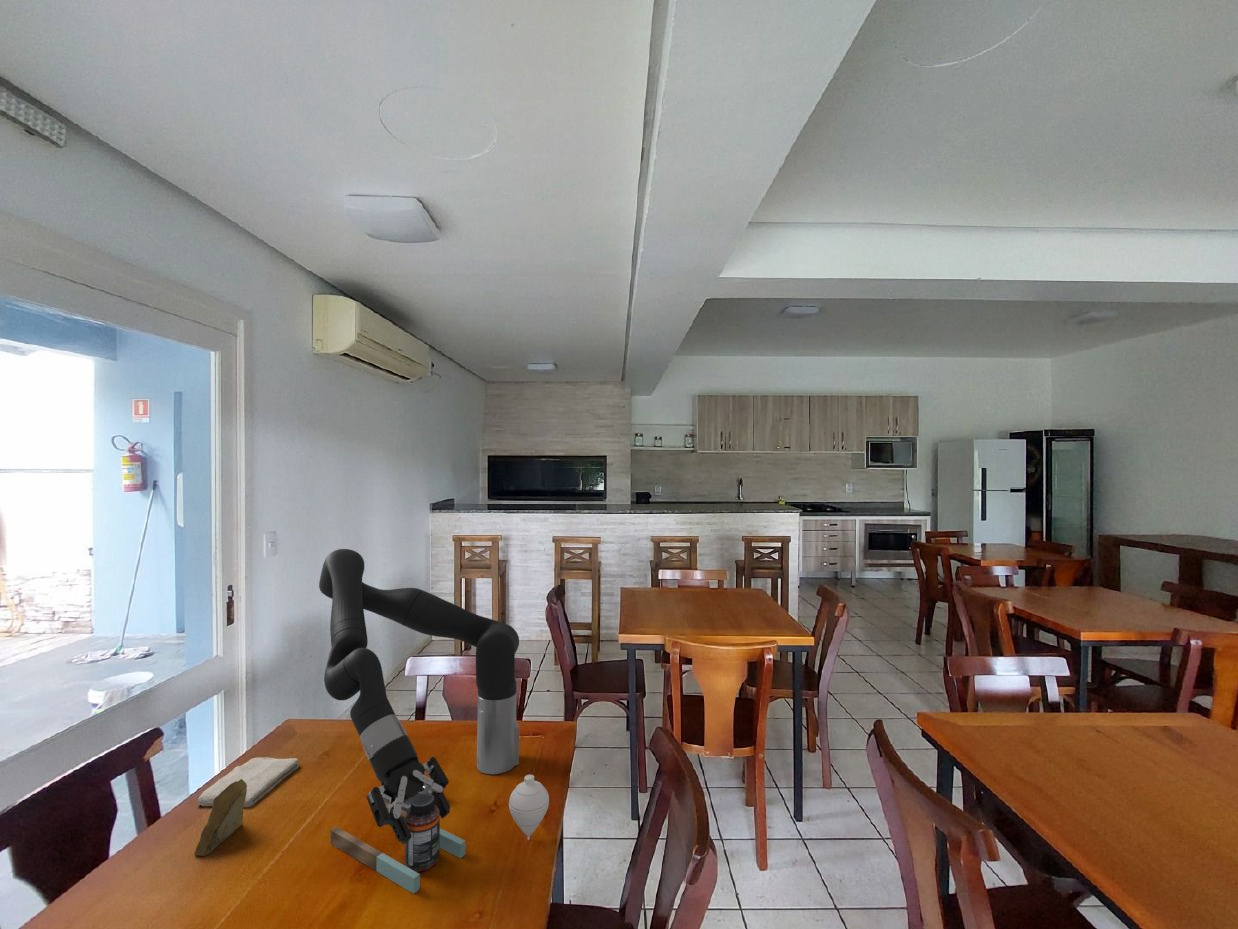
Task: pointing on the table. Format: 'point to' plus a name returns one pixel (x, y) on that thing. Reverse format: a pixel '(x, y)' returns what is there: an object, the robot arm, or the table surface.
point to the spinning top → (528, 804)
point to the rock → (223, 817)
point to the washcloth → (252, 779)
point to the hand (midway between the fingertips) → (427, 827)
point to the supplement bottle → (422, 833)
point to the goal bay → (407, 875)
